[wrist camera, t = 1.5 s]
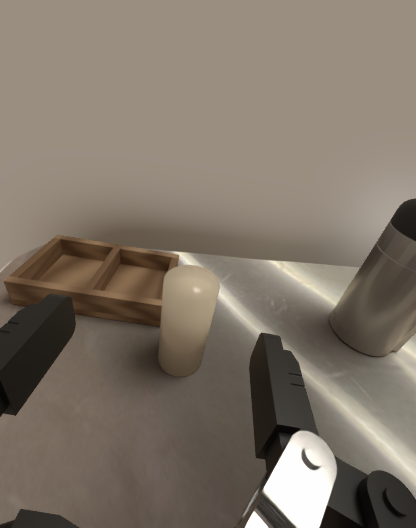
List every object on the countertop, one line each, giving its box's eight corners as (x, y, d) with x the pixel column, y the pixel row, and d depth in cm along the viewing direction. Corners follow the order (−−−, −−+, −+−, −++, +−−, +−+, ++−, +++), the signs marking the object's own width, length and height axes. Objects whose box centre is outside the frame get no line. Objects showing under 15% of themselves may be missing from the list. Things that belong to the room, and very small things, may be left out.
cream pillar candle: (203, 341, 33) (220, 269, 26) (200, 380, 29) (219, 306, 22) (163, 335, 33) (169, 261, 26) (153, 373, 28) (157, 296, 22)
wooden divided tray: (177, 273, 44) (179, 255, 41) (162, 327, 34) (164, 306, 32) (61, 255, 43) (57, 234, 41) (12, 304, 33) (3, 281, 31)
